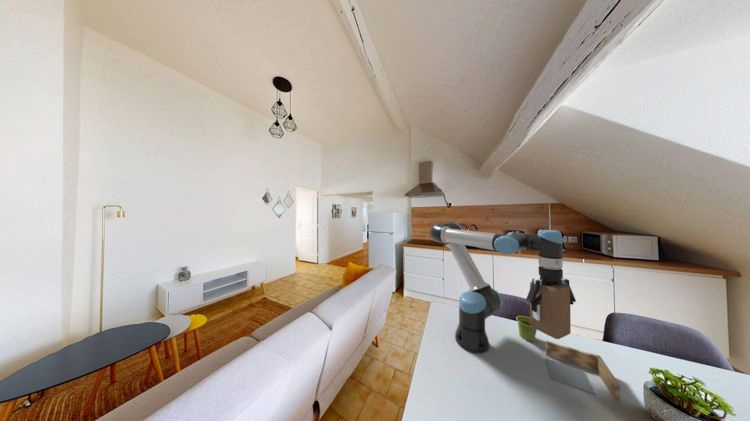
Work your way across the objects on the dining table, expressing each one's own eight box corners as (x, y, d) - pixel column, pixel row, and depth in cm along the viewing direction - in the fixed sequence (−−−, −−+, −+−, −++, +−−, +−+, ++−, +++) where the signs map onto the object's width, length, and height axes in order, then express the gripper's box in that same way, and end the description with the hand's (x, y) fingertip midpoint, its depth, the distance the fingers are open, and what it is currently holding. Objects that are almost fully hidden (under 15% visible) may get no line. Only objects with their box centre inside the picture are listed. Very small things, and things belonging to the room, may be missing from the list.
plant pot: (539, 336, 101) (539, 320, 100) (538, 346, 94) (539, 329, 93) (516, 329, 107) (517, 313, 106) (514, 338, 100) (515, 321, 99)
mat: (551, 379, 76) (551, 378, 76) (544, 358, 86) (544, 357, 86) (595, 394, 70) (595, 394, 70) (582, 370, 80) (582, 370, 80)
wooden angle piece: (554, 378, 77) (554, 363, 76) (545, 353, 90) (546, 340, 89) (619, 401, 68) (619, 385, 67) (599, 370, 80) (600, 356, 80)
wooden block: (557, 341, 75) (557, 290, 75) (529, 326, 84) (528, 281, 84) (571, 334, 79) (571, 285, 79) (543, 321, 88) (542, 277, 88)
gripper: (529, 270, 77) (530, 324, 77) (588, 269, 78) (588, 322, 78) (515, 265, 85) (516, 314, 85) (569, 263, 85) (569, 312, 85)
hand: (550, 318), depth 81 cm, fingers closed on wooden block, 12 cm apart
